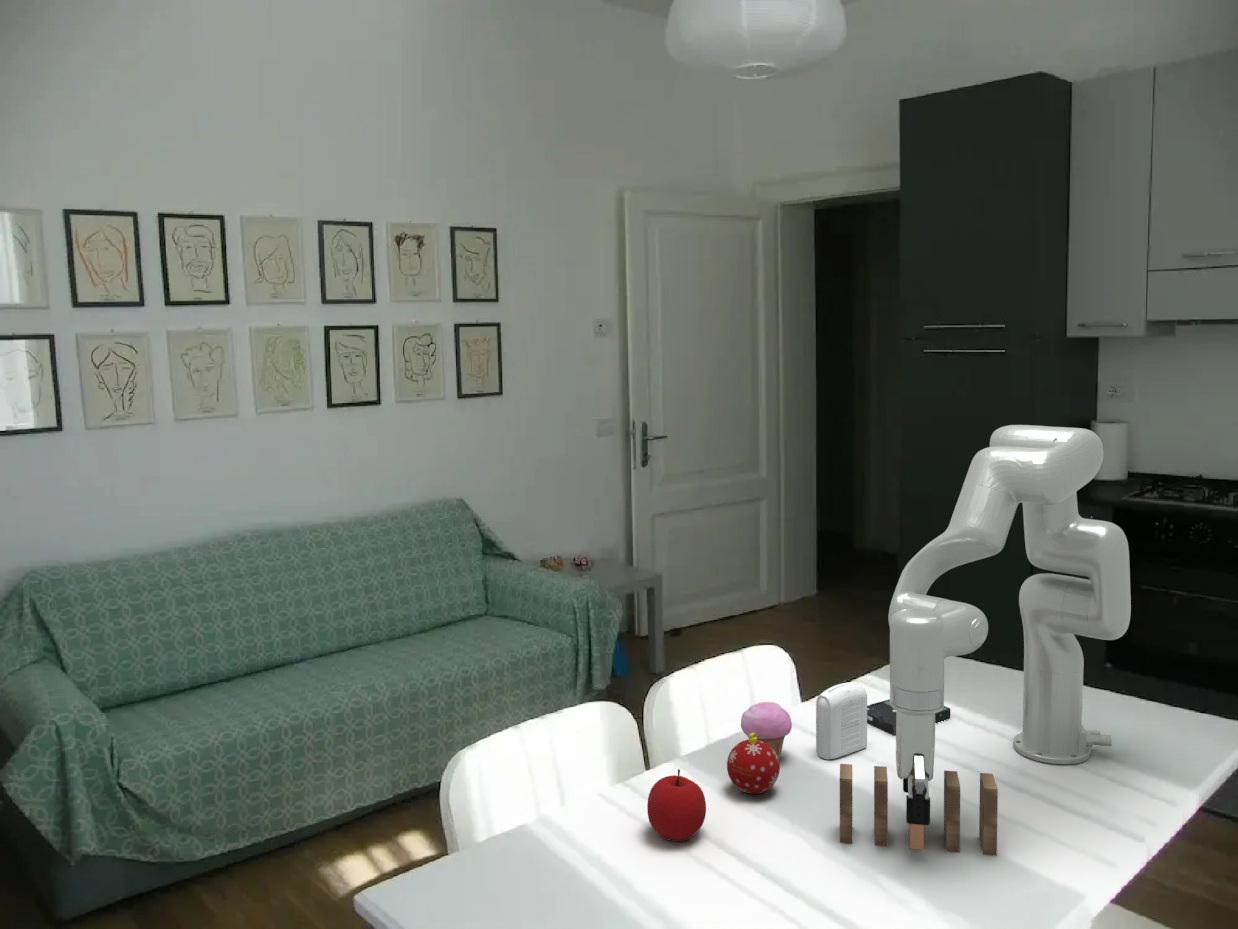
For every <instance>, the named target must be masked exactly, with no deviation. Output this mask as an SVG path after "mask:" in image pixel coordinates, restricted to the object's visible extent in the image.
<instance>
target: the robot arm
mask: <svg viewBox="0 0 1238 929" xmlns="http://www.w3.org/2000/svg"><path fill="white" fill-rule="evenodd" d="M1103 460H1104V447H1103V442H1102V439H1101V438H1100V437H1099V436H1098V435H1097V433H1095V432H1094V431H1092V430H1090V429H1087V428H1082V427H1081V428H1080V427H1066V426H1048V425H1035V424H1034V425H1031V424H1009V425H1004V426H1001V427H999V428H997V429H996V430H994V431H993V432H992V434H991V435H990V439H989V446H988V447H985V448H983V449H981V450H979V451H978V452H976V453H975V455H974V456H973V458H972V459H971V463H970V465H969V467H968V469H967V470H968V471H967V474H966V476H965V478H964V482H963V484H962V487H961V491H960V493H959V496H958V499H957V501H956V504H955V507H954V510H953V513H952V516H951V519H950V521H949V524H948V525H947V526H948V527H947V528H946V530H945V531H944V532H943V533H941V534H940V535H938V536H937V537H935V538H934V539H932V540H931V541H929V543H927V544H925V546H924V547H922V548H921V549H920V550H919V551H918V552H917V553H916V554H915V555H914V556H912V558H911V559H910V560H908V562H907V563H906V565H905V566H904V568H903V570H902V572H901V574H900V577H899V579H898V582H897V584H896V586H895V590H894V592H893V595H892V598H891V601H890V605H889V610H888V616H887V617H888V620H887V621H888V626H889V699H890V705H891V707H893V708H894V709H896V710H897V712H896V736H895V765H896V774H897V775H896V776H897V777H898V778H899V779H900V780H902V790H903V792H904V793H908V795H907V794H906V796H905V797H906V801H905V804H906V805H905V808H906V810H905V812H906V813H905V814H906V816H905V817H906V819H905V820H906V823H907V824H908V825H909V824H918V825H924V826H929V825H930V824H931V796H930V794H929V791H930V790H929V789H930V788H929V782H930V781H932V780H933V779H934V769H935V768H934V767H935V750H936V746H935V745H936V724H935V713H938V712H940V711H942V710H943V709H944V706H945V659H946V658H950V657H957V656H958V657H959V656H964V655H965V656H966V655H968V654H972V653H973V652H975V651H976V650H978V649H979V648H981V647H982V645H983V644H984V643H985V641H986V639H987V636H988V632H989V622H988V619H987V616H986V615H985V613H984V612H983V611H982V610H981V609H979V608H978V607H976V606H974V605H972V604H969V603H967V602H962V601H957V600H951V599H947V598H942V597H936V596H933V595H932V596H931V595H927V593H928V591H929V589H930V588H931V586H932V585H933V583H935V581H936V580H938V578H939V577H940V576H942V575H943V574H945V573H946V572H948V571H949V570H951V569H954V568H957V567H959V566H963V565H965V564H969V563H973V562H976V561H979V560H983V559H986V558H989V557H993V556H996V555H997V554H999V553H1000V552H1002V550H1003V549H1004V547H1005V544H1006V541H1007V539H1008V535H1009V531H1010V529H1011V526H1012V524H1013V521H1014V519H1015V518H1014V517H1015V514H1016V512H1017V508H1018V506H1019V505H1020V504H1021V503H1022V514H1023V515H1022V516H1023V530H1024V543H1025V553H1026V556H1027V557H1026V558H1027V559H1028V561H1029V562H1030V563H1031V565H1032V566H1034V567H1036V568H1037V569H1041V570H1046V571H1051V572H1056V574H1055V573H1037V574H1033V575H1031V576H1029V577H1027V578H1026V579H1024V582H1023V583H1022V585H1021V587H1020V589H1019V594H1018V606H1019V610H1020V612H1019V613H1020V616H1021V621H1022V622H1021V623H1022V628H1023V629H1022V630H1023V642H1024V643H1023V646H1024V647H1023V654H1024V655H1023V656H1024V657H1023V692H1022V693H1023V694H1022V695H1023V699H1022V704H1023V705H1022V731H1021V732H1019V733H1017V734H1016V735H1015V736H1014V737H1013V738H1012V746H1013V748H1014V750H1015V751H1017V752H1018V753H1019V754H1020V755H1022V756H1024V757H1026V758H1028V759H1030V760H1034V761H1037V762H1042V763H1047V764H1053V765H1073V764H1075V765H1076V764H1080V763H1082V762H1083V763H1084V762H1085V761H1087V760H1089V758H1090V757H1091V754H1092V748H1091V747H1093V746H1100V747H1111V746H1113V745H1112V744H1113V742H1112V741H1113V740H1112V736H1111V734H1101V731H1100V730H1096V729H1095V730H1094V729H1091V730H1087V729H1086V728H1085V727H1084V726H1083V698H1084V697H1083V696H1084V695H1083V694H1084V693H1083V692H1084V662H1085V661H1084V654H1083V651H1082V647H1081V645H1080V643H1079V641H1078V640H1077V638H1076V636H1081V637H1087V638H1090V639H1091V638H1092V639H1098V640H1105V641H1115V640H1118V639H1120V638H1121V637H1123V636H1124V635H1125V633H1126V632H1127V630H1128V629H1129V626H1130V621H1131V616H1132V615H1131V614H1132V613H1131V612H1132V604H1131V603H1132V601H1131V600H1132V596H1131V595H1132V594H1131V568H1130V567H1131V566H1130V550H1129V542H1128V539H1127V536H1126V534H1125V532H1124V530H1123V529H1122V528H1121V527H1120V526H1119V525H1117V524H1115V523H1113V522H1110V521H1106V520H1101V519H1100V520H1099V519H1091V518H1083V517H1082V516H1081V515H1080V514H1079V507H1078V506H1079V505H1078V495H1077V492H1078V491H1079V490H1080V489H1082V488H1083V487H1084V486H1086V485H1087V484H1088V483H1090V482H1091V481H1092V480H1093V479H1094V478H1095V476H1097V475H1098V472H1099V471H1100V468H1101V467H1102V464H1103ZM1057 573H1063V574H1069V575H1075V576H1069V575H1063V574H1057ZM1076 576H1077V577H1076ZM1078 576H1081V577H1088V578H1087V579H1086V578H1081V577H1078ZM1075 635H1076V636H1075ZM911 773H915V775H911ZM912 781H915V785H913V787H912Z"/></svg>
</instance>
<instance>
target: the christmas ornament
mask: <svg viewBox="0 0 1238 929" xmlns="http://www.w3.org/2000/svg"><path fill="white" fill-rule="evenodd" d="M753 734H754V736H752V735H753ZM726 769H727V770H726V771H727V773H728V774H727V775H728V777H729V779H730V781H731V783H732V784H733V786H735V787H736V788H737V789H739V790H740V791H742V792H744V793H747V794H750V795H752V794H753V795H758V794H762V793H764V792H767V791H769V790H770V789H771V788H772V787H773V786H774V785H775V784H776V782H777V780H778V778H779V775H780V760H779V759H778V757H777V755H776V753H775V751H774V750H773V749H772V748H771V747H770V746H769V745H768V744H767V743H765V742H763V741H760V740H757V737H756V734H755V733H750V735H749V738H748V739H745V740H742V741H740V742H738V743H737V744H736V745H735V746H734V747H732V749H731V750H730V752H729V754H728V756H727V760H726Z"/></svg>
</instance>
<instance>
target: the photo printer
mask: <svg viewBox="0 0 1238 929" xmlns="http://www.w3.org/2000/svg"><path fill="white" fill-rule="evenodd" d="M867 693H868V692H867V691H866V688H865V687H864V686H863V685H862V684H859V683H855V682H843V683H838V684H836V685H833V686H831V687H829V688H827V689H825V690H824V691H822V693H820V694H819V695H818V696H817V698H816V701H815V703H816V704H815V706H816V707H815V716H816V718H815V733H816V734H815V746H816V747H815V750H816V753H817V755H818V757H819V758H822V759H824V760H828V761H829V760H833V759H838V758H841V757H844V756H846V755H850V754H852V753H854V752H858V751H860V750H864V749H865V748H867V745H868V724H867V705H868V694H867Z"/></svg>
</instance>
